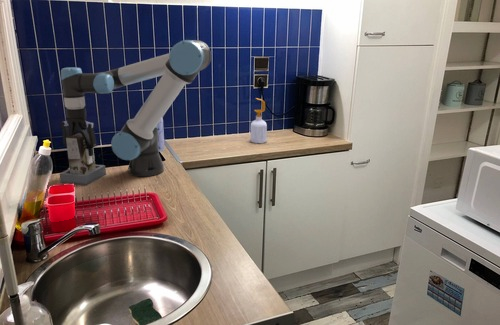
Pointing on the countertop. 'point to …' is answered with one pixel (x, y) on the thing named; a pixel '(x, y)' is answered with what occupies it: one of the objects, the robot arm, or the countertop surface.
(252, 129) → the soap bottle
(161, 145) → the aerosol can
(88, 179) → the pocket tray
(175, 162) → the countertop surface
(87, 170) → the coffee box
